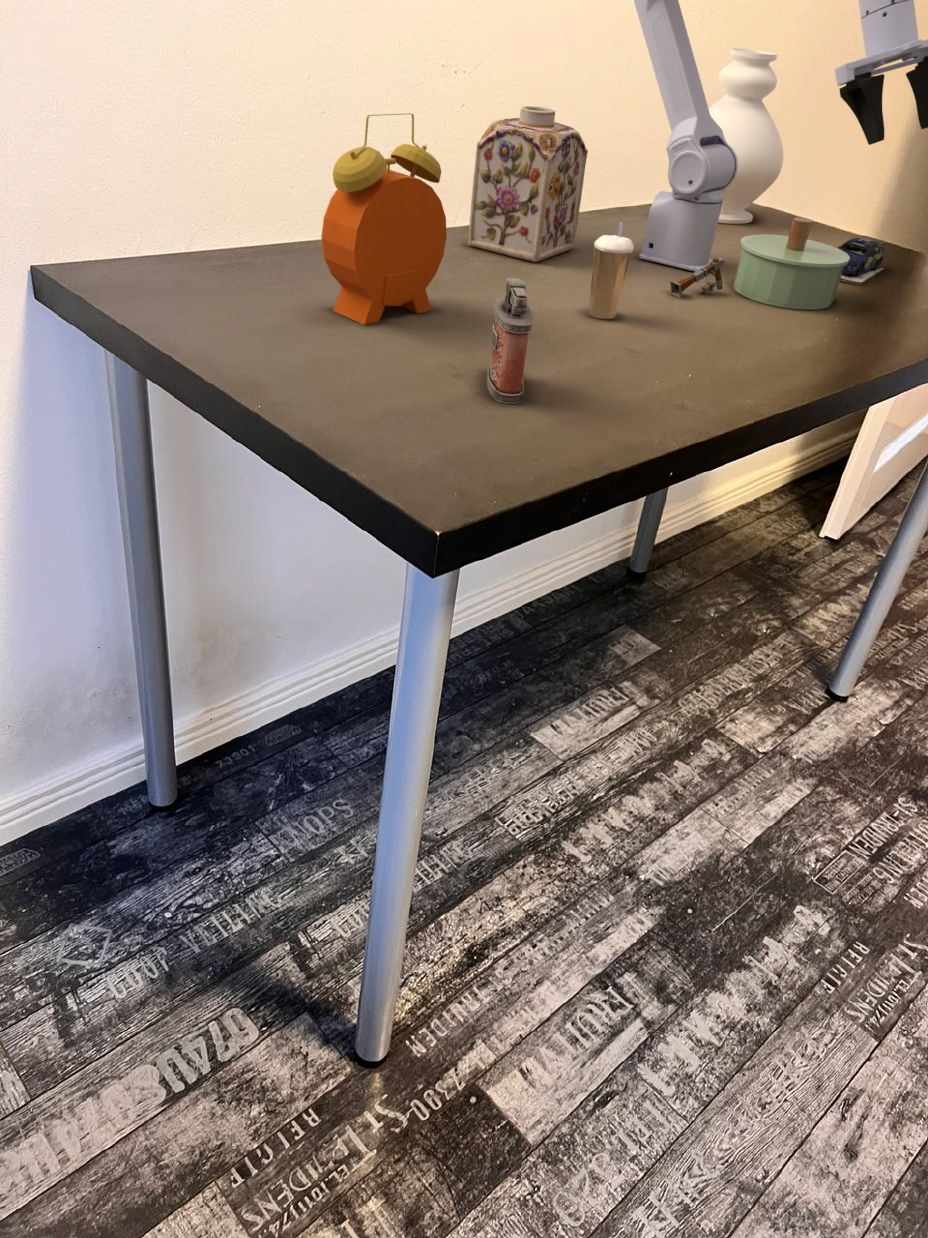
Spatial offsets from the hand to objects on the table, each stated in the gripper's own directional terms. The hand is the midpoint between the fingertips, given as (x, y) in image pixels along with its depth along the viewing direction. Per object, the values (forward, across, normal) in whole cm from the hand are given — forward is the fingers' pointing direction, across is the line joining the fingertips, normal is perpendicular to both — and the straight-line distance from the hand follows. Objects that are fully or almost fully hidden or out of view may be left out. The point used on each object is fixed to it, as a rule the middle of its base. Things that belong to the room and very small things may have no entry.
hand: (903, 134), depth 115 cm
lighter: (+13, -62, -16) cm, 65 cm away
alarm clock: (+2, -67, +5) cm, 67 cm away
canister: (+15, -12, +13) cm, 23 cm away
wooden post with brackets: (+11, -24, +12) cm, 30 cm away
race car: (+16, +8, +24) cm, 30 cm away
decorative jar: (-1, -40, +31) cm, 50 cm away
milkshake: (+10, -41, +4) cm, 43 cm away
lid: (+10, -10, +11) cm, 18 cm away
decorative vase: (+2, +6, +55) cm, 55 cm away
